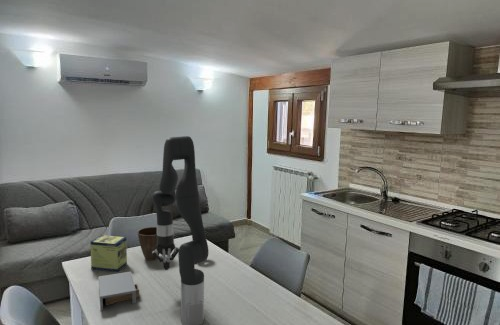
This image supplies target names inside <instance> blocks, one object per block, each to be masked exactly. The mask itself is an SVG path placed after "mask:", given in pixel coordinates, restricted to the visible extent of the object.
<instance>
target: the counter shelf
mask: <svg viewBox="0 0 500 325" xmlns="http://www.w3.org/2000/svg"><path fill="white" fill-rule="evenodd" d="M134 284H135V281H134V278H133V275H132V271H125V272H119V273H113V274H106V275H101V276H98V293H99V294H98V295H99V296H98V297H99V309H100V312H103V311H104V304H103V302H104V300H103V299H105V298H108V297H114V296H119V295H125V294H130V293H132V299H131V300H132V302H131V303H132V305H134V304H137V298H136V289H135V285H134Z"/></svg>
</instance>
